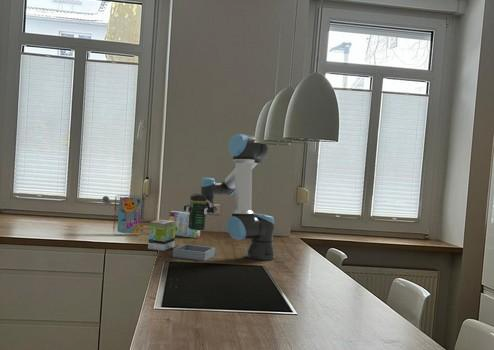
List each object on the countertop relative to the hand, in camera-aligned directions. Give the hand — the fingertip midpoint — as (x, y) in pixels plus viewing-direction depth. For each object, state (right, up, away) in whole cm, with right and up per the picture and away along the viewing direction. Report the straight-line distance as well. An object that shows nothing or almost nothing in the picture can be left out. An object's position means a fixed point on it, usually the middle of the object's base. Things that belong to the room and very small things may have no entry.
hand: (196, 210), depth 260 cm
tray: (-1, -24, +5) cm, 24 cm away
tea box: (-21, -22, +21) cm, 37 cm away
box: (-51, -19, +52) cm, 75 cm away
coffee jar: (0, -10, +5) cm, 11 cm away
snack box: (-15, -21, +69) cm, 73 cm away
